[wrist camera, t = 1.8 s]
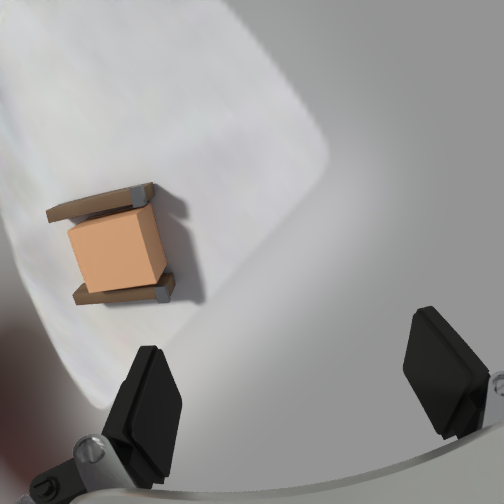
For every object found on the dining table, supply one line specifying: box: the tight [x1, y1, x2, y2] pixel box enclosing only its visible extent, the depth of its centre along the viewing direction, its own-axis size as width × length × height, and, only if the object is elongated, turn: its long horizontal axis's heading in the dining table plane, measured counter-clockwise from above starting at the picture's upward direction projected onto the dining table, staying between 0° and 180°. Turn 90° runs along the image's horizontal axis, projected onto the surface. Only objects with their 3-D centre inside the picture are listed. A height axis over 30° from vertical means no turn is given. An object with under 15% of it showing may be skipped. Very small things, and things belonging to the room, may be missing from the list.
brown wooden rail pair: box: [46, 182, 175, 305], centre depth 25 cm, size 10×10×3 cm
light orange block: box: [67, 203, 167, 293], centre depth 25 cm, size 6×7×4 cm
